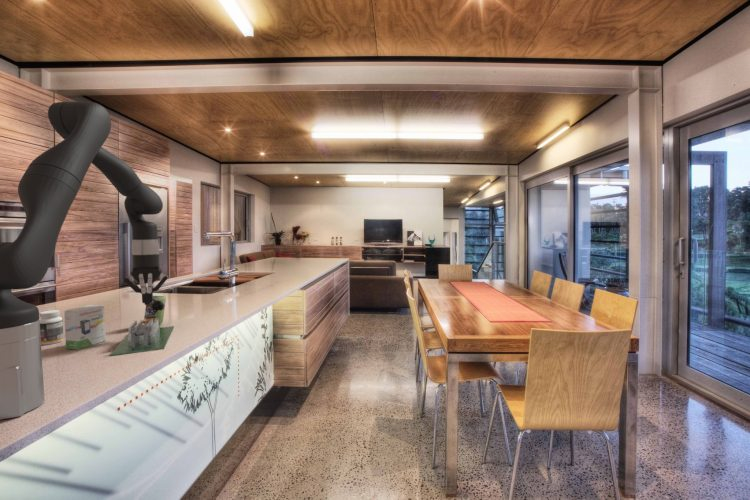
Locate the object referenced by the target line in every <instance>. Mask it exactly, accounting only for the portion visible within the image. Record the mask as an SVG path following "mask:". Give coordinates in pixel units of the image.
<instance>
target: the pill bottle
mask: <svg viewBox="0 0 750 500" xmlns="http://www.w3.org/2000/svg"><path fill="white" fill-rule="evenodd" d="M60 315H61V310H59V309H54V310H53V309H52V310H51V309H50V310H45V311H41V312H39V320H40V337H41V346H42V345H43V346H44V345H45V346H46V345H54V344H57V343H61V342H62V341H63V340H64V321H63V318H62V317H61V316H60Z"/></svg>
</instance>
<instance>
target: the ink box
mask: <svg viewBox="0 0 750 500" xmlns="http://www.w3.org/2000/svg"><path fill="white" fill-rule="evenodd" d="M63 315H64V331H65V332H64V333H65V335H64V337H65V349H66V350H67V349H69V350H70V349H71V350H77V351H78V350H82V349H85V348H87V347H90V346H93V345H97V344H100V343H102V342H105V341H106V338H107V337H106V323H105V320H106V319H105V306H104V305H100V304H99V305H97V304H88V305H83V306H79V307H73V308H68V309H65V310H64V314H63Z"/></svg>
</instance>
